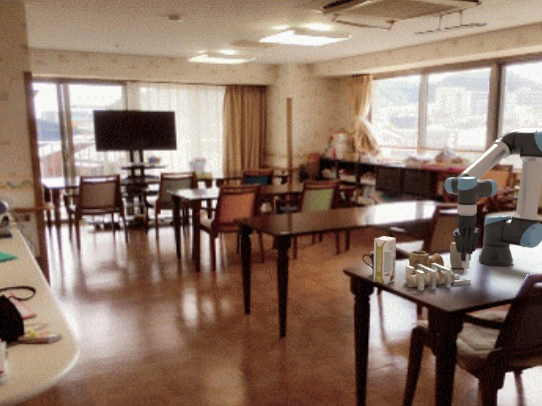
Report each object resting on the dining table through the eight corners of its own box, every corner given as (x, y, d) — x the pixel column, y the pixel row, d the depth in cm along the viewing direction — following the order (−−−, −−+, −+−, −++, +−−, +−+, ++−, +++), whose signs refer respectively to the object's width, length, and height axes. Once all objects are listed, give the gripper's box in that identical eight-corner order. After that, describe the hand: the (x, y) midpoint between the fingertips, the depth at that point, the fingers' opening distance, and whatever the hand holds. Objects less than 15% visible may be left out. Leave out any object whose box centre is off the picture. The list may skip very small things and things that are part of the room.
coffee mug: (393, 273, 223) (393, 252, 221) (383, 277, 216) (384, 255, 215) (371, 269, 230) (371, 248, 229) (361, 273, 224) (361, 251, 223)
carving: (455, 265, 236) (456, 240, 234) (468, 268, 229) (469, 243, 228) (446, 266, 233) (447, 242, 231) (458, 270, 226) (459, 245, 225)
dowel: (447, 280, 211) (447, 269, 210) (454, 284, 206) (455, 273, 205) (405, 284, 206) (406, 273, 205) (412, 288, 201) (412, 277, 200)
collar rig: (455, 277, 216) (456, 261, 215) (472, 284, 205) (473, 267, 204) (405, 282, 209) (405, 265, 208) (420, 290, 198) (420, 272, 197)
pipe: (447, 273, 222) (448, 252, 220) (416, 277, 216) (417, 255, 215) (434, 268, 230) (435, 248, 229) (404, 272, 225) (405, 251, 224)
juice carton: (397, 281, 211) (398, 237, 209) (386, 285, 206) (387, 240, 203) (382, 277, 217) (382, 235, 214) (371, 281, 211) (371, 238, 208)
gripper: (474, 211, 212) (472, 264, 215) (447, 213, 208) (447, 267, 212) (486, 214, 204) (484, 268, 208) (459, 216, 201) (458, 272, 205)
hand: (465, 268), depth 210 cm, fingers closed
